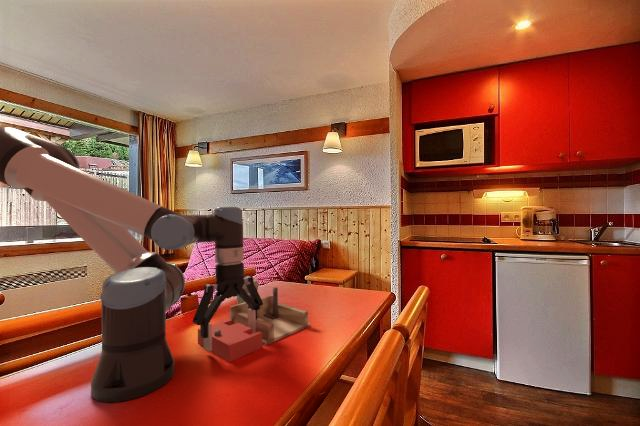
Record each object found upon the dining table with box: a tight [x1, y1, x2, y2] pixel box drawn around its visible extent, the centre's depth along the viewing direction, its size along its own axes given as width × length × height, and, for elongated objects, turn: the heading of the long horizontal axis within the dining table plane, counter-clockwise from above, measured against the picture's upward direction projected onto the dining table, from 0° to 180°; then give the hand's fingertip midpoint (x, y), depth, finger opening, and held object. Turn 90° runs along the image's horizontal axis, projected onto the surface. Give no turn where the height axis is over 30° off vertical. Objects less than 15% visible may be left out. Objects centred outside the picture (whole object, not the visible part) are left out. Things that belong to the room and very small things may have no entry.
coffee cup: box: [236, 278, 260, 304], centre depth 105 cm, size 8×8×12 cm
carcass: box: [229, 286, 311, 346], centre depth 92 cm, size 18×18×11 cm
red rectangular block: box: [197, 318, 263, 363], centre depth 79 cm, size 16×10×5 cm, turn 49°
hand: (231, 340), depth 79 cm, fingers open, 13 cm apart
